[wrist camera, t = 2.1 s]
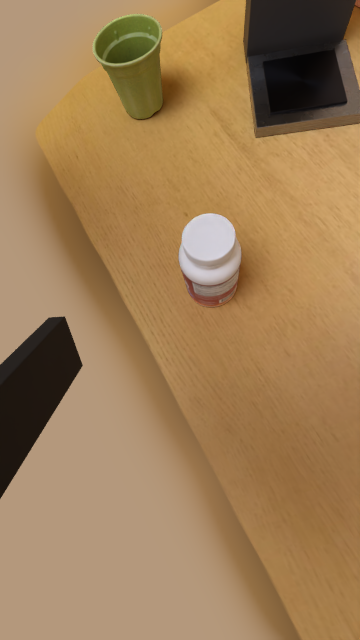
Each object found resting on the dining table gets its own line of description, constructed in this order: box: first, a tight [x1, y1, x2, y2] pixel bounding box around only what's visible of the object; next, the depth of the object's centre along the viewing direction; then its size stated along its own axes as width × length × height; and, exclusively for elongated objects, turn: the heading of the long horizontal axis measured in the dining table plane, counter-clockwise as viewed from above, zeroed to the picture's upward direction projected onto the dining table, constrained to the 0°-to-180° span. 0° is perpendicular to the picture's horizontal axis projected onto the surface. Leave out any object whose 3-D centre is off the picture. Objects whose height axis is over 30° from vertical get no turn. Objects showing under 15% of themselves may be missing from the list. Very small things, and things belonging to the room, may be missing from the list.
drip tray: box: [247, 40, 360, 138], centre depth 40 cm, size 14×14×2 cm
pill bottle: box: [179, 213, 242, 307], centre depth 29 cm, size 6×6×11 cm
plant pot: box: [93, 14, 163, 119], centre depth 40 cm, size 9×9×9 cm
